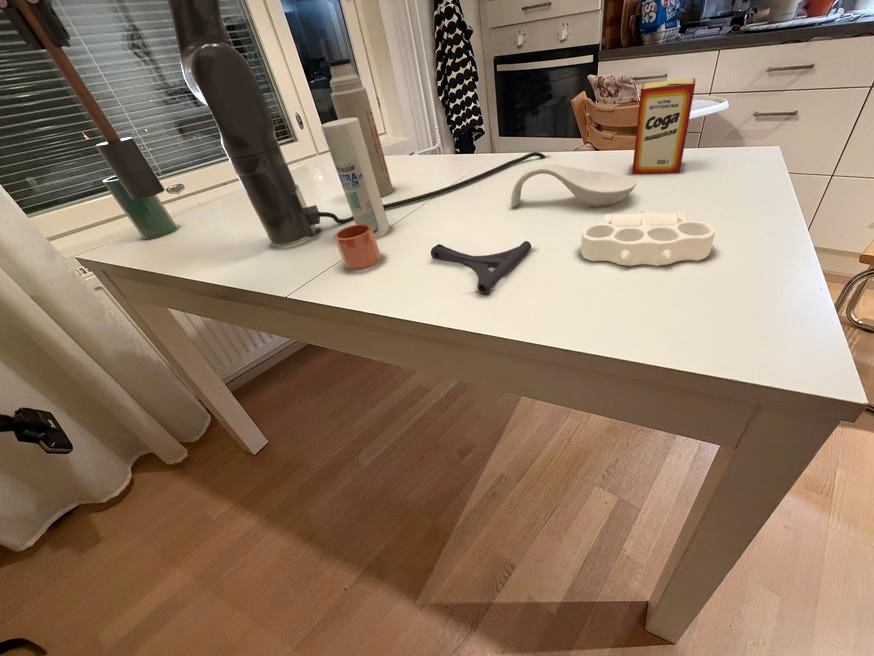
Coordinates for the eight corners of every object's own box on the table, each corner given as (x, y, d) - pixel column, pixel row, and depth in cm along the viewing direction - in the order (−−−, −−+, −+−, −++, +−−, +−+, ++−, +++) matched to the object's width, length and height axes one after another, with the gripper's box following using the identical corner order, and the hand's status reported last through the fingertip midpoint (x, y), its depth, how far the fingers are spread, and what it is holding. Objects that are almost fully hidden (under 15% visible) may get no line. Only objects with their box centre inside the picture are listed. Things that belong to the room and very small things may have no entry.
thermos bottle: (397, 186, 104) (363, 55, 87) (386, 197, 99) (346, 58, 81) (370, 189, 106) (331, 60, 88) (357, 199, 101) (313, 64, 83)
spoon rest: (633, 189, 79) (638, 150, 75) (634, 212, 71) (639, 169, 66) (518, 195, 86) (516, 160, 81) (506, 216, 78) (503, 178, 73)
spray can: (352, 238, 80) (312, 127, 67) (372, 225, 84) (337, 118, 72) (378, 240, 77) (341, 125, 65) (396, 227, 82) (365, 116, 69)
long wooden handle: (169, 187, 60) (49, -10, 46) (159, 194, 56) (26, -15, 42) (138, 193, 59) (7, -4, 45) (126, 201, 56) (-20, -8, 42)
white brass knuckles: (700, 226, 63) (716, 270, 52) (584, 229, 68) (578, 270, 58) (705, 205, 61) (723, 247, 50) (585, 210, 66) (578, 249, 55)
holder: (380, 252, 73) (370, 220, 69) (383, 266, 68) (373, 233, 64) (346, 261, 72) (334, 229, 68) (347, 276, 67) (333, 243, 63)
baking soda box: (632, 174, 86) (641, 86, 76) (635, 165, 91) (644, 81, 81) (679, 172, 83) (695, 81, 73) (680, 163, 87) (695, 75, 77)
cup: (181, 224, 106) (146, 168, 97) (172, 234, 100) (133, 176, 91) (150, 231, 105) (111, 176, 96) (138, 241, 99) (96, 184, 90)
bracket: (457, 242, 72) (454, 227, 70) (531, 250, 65) (530, 234, 63) (408, 280, 63) (404, 264, 61) (488, 295, 56) (485, 278, 54)
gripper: (7, -179, 40) (127, 40, 51) (-151, -166, 38) (9, 58, 49) (-48, -218, 34) (101, 38, 45) (-237, -205, 32) (-34, 58, 43)
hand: (53, 48), depth 47 cm, fingers closed on long wooden handle, 1 cm apart
